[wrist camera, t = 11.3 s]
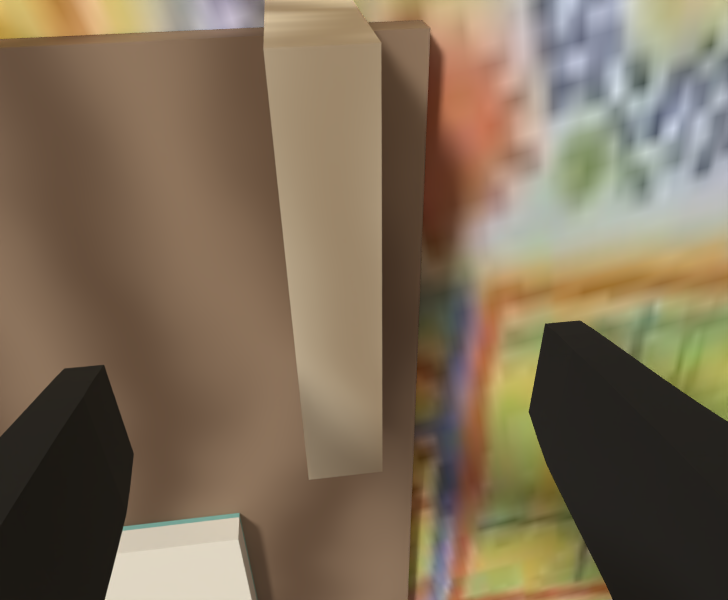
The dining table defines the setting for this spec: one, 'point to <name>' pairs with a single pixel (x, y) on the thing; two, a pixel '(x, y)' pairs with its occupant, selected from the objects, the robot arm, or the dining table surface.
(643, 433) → the robot arm
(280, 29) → the beige long rectangular bar
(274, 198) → the board
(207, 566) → the tile
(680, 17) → the dining table surface
